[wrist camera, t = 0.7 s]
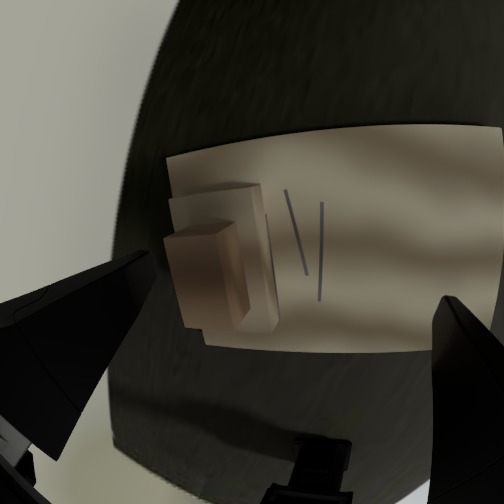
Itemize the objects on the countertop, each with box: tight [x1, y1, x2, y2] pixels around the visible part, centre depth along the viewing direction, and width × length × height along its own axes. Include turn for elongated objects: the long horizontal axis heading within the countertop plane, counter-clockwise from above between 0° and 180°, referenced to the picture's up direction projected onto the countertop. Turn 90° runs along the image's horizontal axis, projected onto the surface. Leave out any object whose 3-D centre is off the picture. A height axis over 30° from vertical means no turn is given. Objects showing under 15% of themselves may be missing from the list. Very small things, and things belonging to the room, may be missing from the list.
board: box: [166, 124, 504, 353], centre depth 20 cm, size 16×24×2 cm, turn 99°
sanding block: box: [163, 184, 279, 334], centre depth 19 cm, size 10×6×5 cm, turn 9°
